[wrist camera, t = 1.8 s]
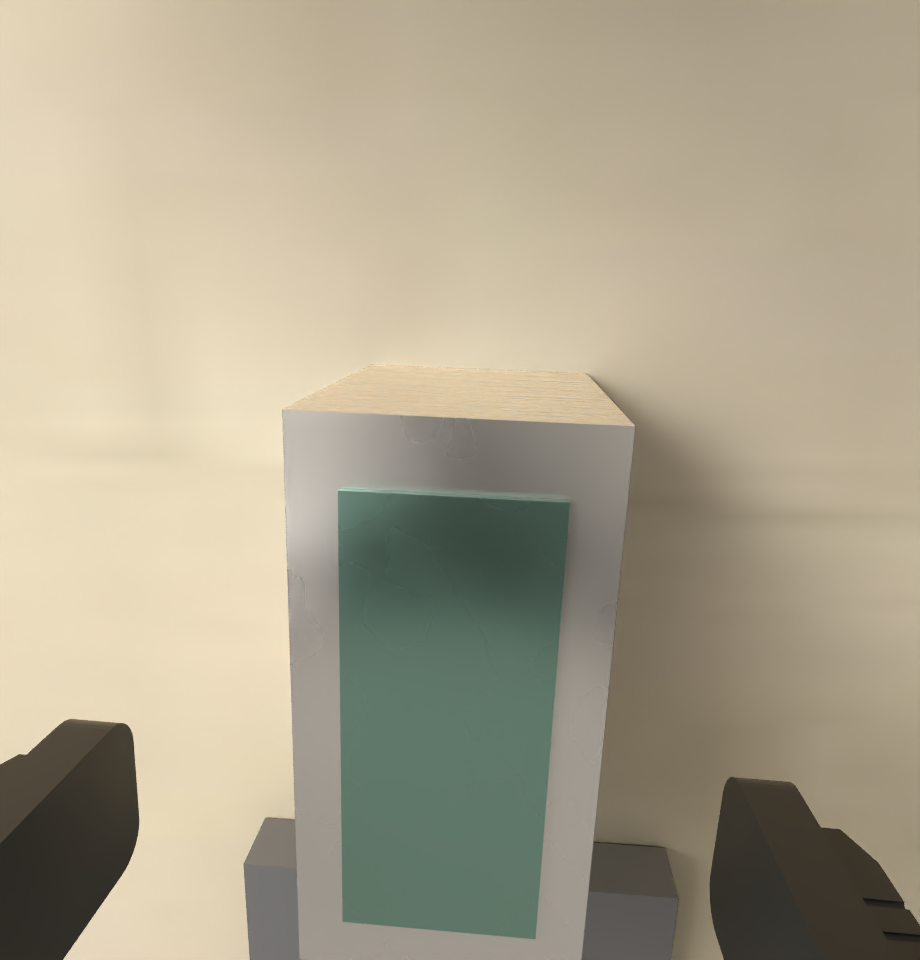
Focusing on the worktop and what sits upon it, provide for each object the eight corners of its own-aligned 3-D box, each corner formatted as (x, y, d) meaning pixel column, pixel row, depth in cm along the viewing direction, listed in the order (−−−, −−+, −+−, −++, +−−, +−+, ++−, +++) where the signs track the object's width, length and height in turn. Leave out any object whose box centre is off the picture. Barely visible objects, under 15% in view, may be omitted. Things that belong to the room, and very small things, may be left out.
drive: (372, 364, 15) (278, 411, 9) (586, 373, 15) (637, 427, 9) (371, 734, 17) (296, 968, 11) (555, 748, 17) (579, 994, 11)
